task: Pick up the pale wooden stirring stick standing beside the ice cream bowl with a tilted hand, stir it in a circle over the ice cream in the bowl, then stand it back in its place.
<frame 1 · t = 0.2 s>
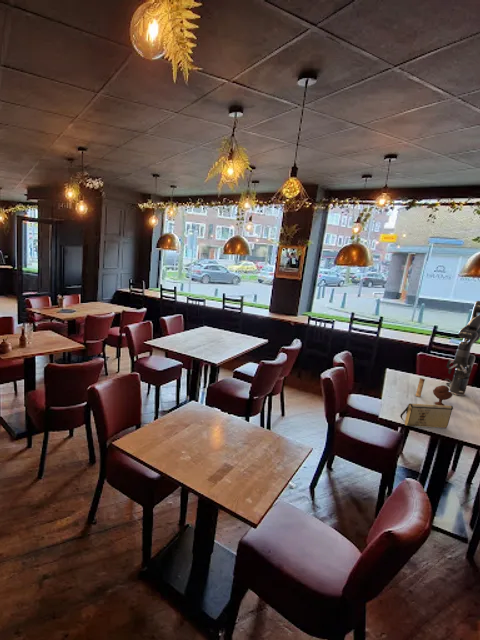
hand: (456, 375, 259), 17 cm above the table, tool pointing down, fingers open, 8 cm apart
stirring stick: (417, 396, 259), on the table
ice cream bowl: (439, 404, 246), on the table
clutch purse: (422, 425, 213), on the table
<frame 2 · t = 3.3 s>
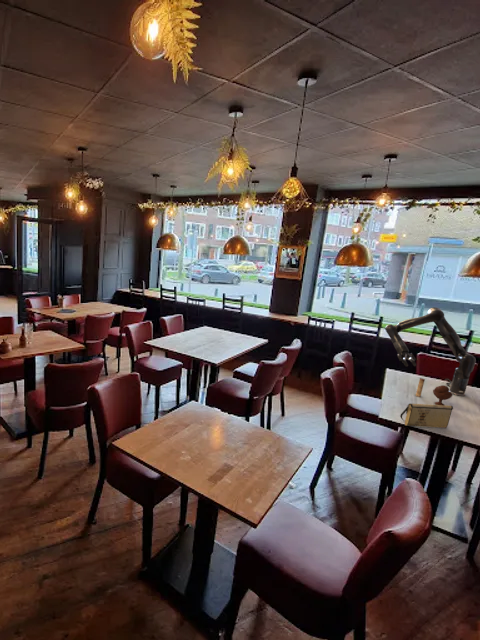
hand: (411, 365, 264), 21 cm above the table, tool tilted 45°, fingers open, 8 cm apart
nothing on the table moved.
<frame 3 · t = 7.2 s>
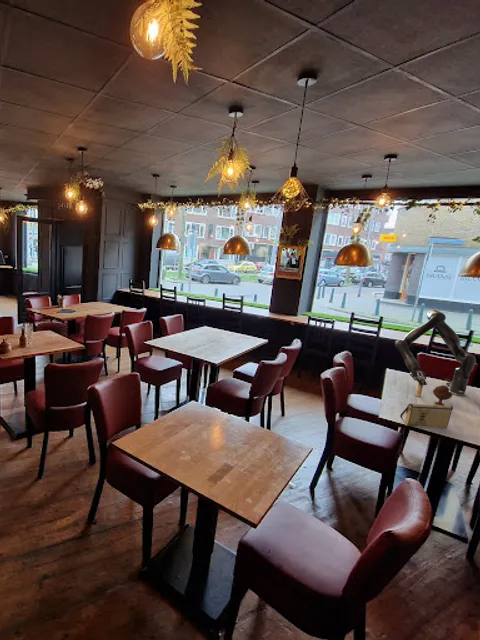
hand: (423, 384, 255), 10 cm above the table, tool tilted 45°, fingers closed on stirring stick, 3 cm apart
stirring stick: (418, 396, 259), on the table, touching gripper
everything else where it was.
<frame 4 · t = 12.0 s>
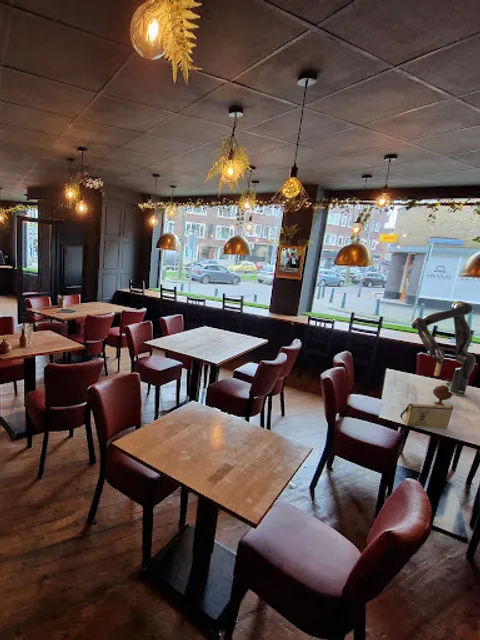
hand: (442, 363, 243), 30 cm above the table, tool tilted 45°, fingers closed on stirring stick, 3 cm apart
stirring stick: (436, 375, 248), point 20 cm above the table, touching gripper
everything else where it was.
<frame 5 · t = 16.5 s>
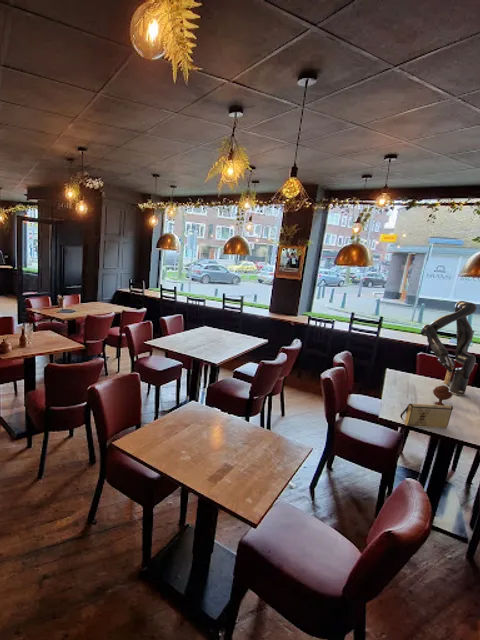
hand: (452, 371, 239), 26 cm above the table, tool tilted 45°, fingers closed on stirring stick, 3 cm apart
stirring stick: (446, 383, 244), point 16 cm above the table, touching gripper
everything else where it was.
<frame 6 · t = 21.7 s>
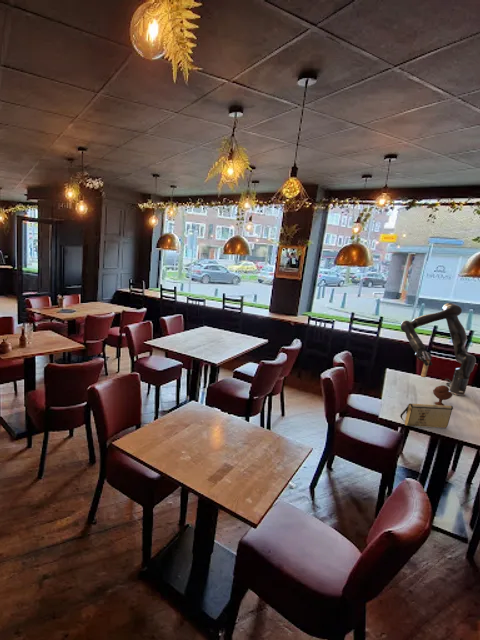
hand: (429, 365, 251), 26 cm above the table, tool tilted 45°, fingers closed on stirring stick, 3 cm apart
stirring stick: (423, 376, 255), point 16 cm above the table, touching gripper
everything else where it was.
when the fingers open (10 cm above the table, at t = 26.1 s): stirring stick stays where it is, on the table.
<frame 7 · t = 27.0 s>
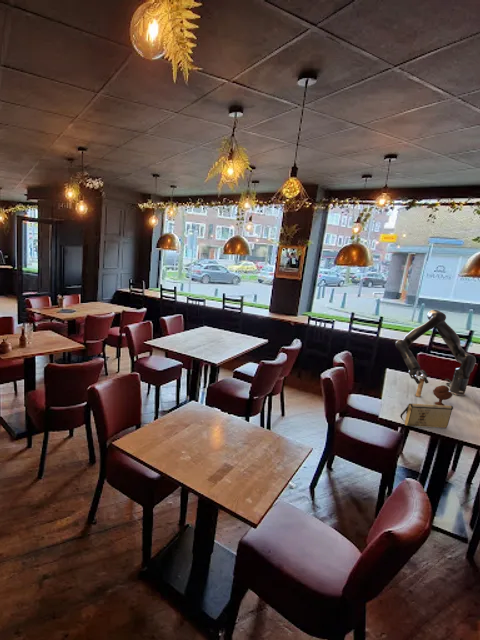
hand: (423, 383, 255), 11 cm above the table, tool tilted 45°, fingers open, 8 cm apart
stirring stick: (417, 396, 259), on the table
everything else where it was.
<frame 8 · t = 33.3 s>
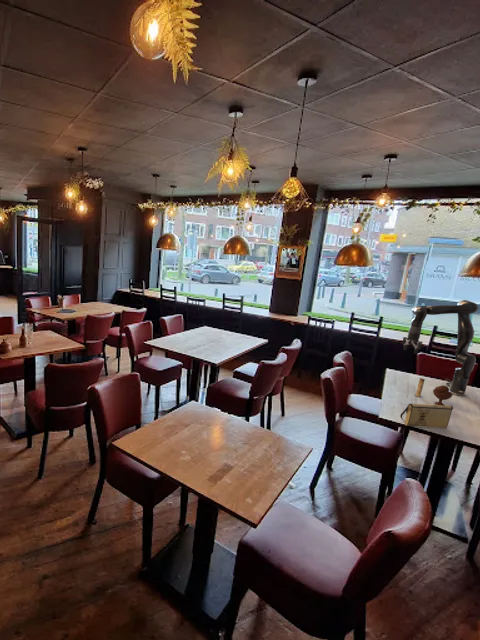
hand: (409, 351, 268), 30 cm above the table, tool pointing down, fingers open, 8 cm apart
nothing on the table moved.
at the end: stirring stick inside the target area (0.1 cm from its centre), on the table; stirring stick tilted 0°; ice cream bowl moved 0.2 cm from its start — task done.
